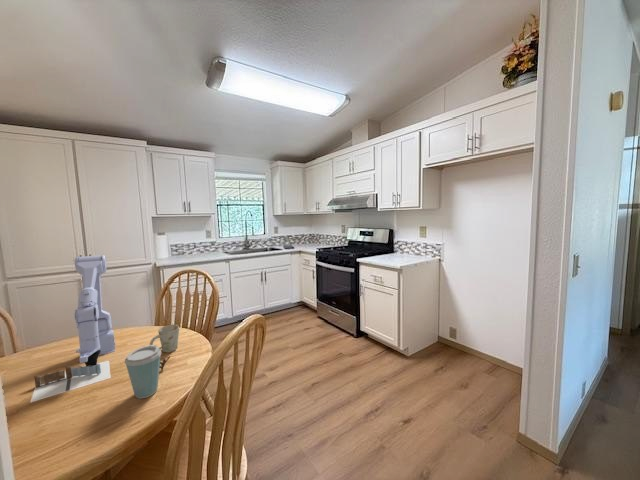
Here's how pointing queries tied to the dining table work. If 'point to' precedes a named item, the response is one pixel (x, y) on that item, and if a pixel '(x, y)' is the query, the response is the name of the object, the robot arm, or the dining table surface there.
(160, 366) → the eagle figurine
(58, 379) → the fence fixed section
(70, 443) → the dining table surface
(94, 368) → the fence folding panel
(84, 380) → the card
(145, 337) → the dining table surface
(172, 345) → the mug
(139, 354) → the disposable coffee cup
